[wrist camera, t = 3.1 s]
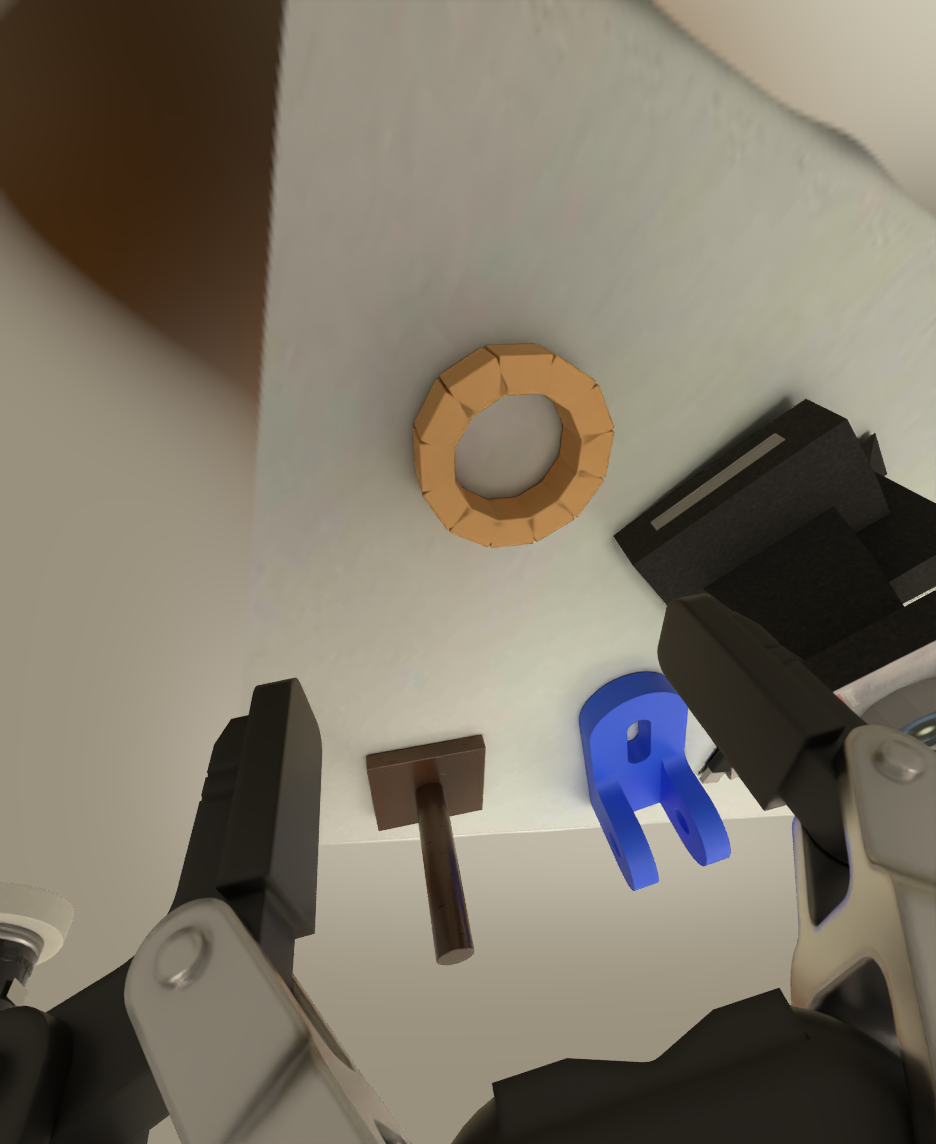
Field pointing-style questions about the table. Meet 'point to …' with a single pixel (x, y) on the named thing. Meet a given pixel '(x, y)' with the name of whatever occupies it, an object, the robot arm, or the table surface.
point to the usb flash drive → (718, 769)
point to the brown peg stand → (434, 823)
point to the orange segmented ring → (480, 387)
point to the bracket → (645, 774)
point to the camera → (811, 560)
